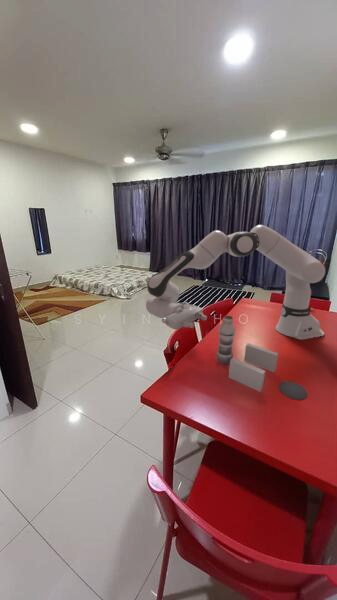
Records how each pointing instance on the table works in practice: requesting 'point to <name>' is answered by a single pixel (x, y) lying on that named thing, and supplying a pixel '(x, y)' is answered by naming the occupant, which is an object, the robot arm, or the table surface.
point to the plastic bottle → (226, 340)
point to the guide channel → (250, 373)
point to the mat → (293, 390)
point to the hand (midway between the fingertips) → (200, 322)
